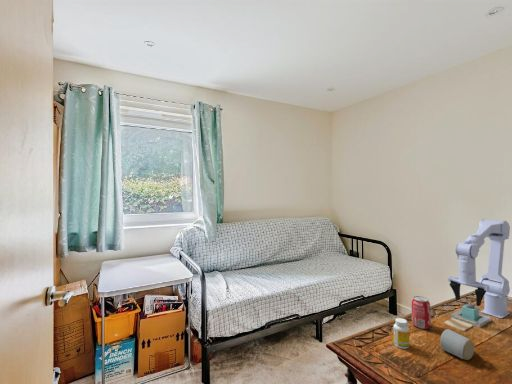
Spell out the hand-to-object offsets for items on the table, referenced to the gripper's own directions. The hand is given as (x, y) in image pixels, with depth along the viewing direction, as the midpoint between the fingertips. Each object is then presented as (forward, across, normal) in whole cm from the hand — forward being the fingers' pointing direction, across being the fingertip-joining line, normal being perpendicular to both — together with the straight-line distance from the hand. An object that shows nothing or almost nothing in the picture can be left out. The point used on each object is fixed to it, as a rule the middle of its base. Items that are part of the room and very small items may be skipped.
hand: (468, 302), depth 119 cm
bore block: (+10, -2, +7) cm, 12 cm away
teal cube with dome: (+10, -2, +7) cm, 13 cm away
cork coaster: (+10, -3, -3) cm, 11 cm away
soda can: (+10, -11, -17) cm, 23 cm away
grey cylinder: (+10, +7, -26) cm, 29 cm away
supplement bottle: (+10, -7, -38) cm, 40 cm away
